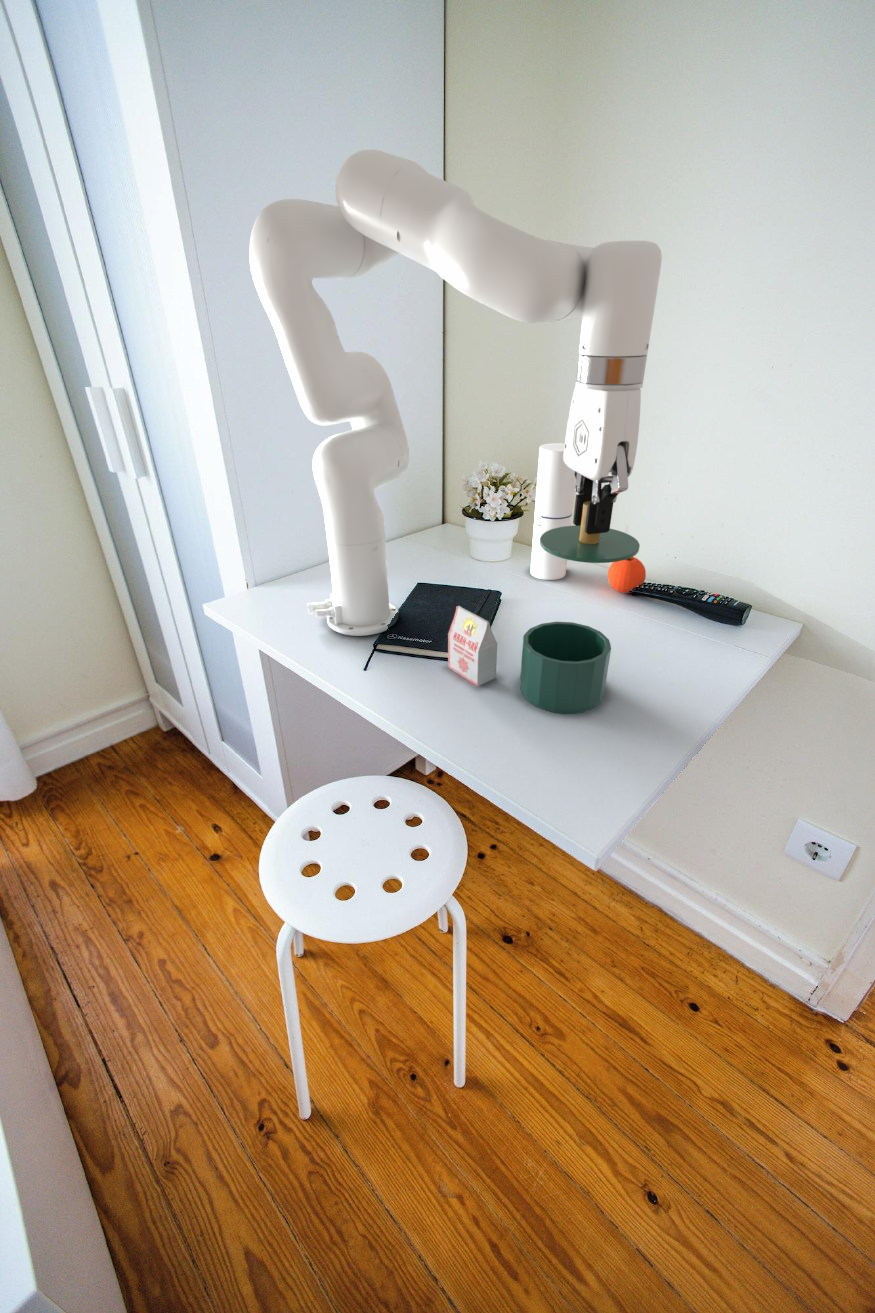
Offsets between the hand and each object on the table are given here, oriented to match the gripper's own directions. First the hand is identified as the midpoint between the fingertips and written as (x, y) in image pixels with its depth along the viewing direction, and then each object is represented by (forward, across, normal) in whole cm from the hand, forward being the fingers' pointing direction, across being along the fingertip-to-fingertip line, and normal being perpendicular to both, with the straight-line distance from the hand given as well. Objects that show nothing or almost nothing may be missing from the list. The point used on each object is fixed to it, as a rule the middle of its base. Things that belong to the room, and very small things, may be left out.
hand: (590, 527), depth 78 cm
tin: (+23, +3, -3) cm, 23 cm away
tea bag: (+23, -5, -14) cm, 28 cm away
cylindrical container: (+23, -38, +12) cm, 46 cm away
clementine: (+23, -26, +22) cm, 41 cm away
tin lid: (+2, 0, 0) cm, 2 cm away
